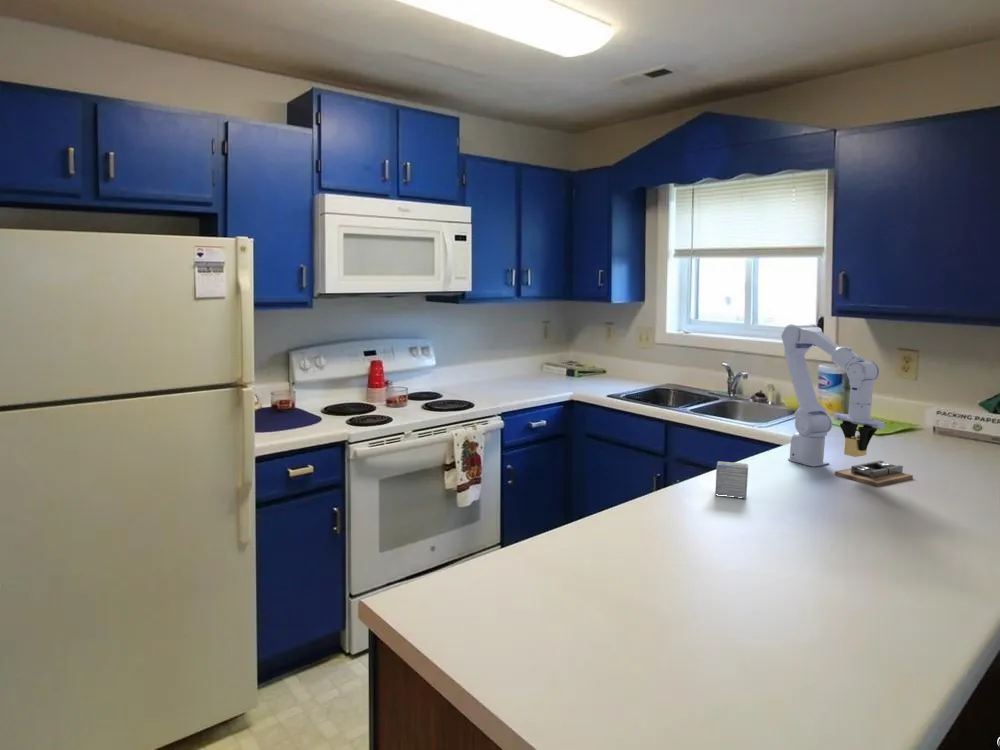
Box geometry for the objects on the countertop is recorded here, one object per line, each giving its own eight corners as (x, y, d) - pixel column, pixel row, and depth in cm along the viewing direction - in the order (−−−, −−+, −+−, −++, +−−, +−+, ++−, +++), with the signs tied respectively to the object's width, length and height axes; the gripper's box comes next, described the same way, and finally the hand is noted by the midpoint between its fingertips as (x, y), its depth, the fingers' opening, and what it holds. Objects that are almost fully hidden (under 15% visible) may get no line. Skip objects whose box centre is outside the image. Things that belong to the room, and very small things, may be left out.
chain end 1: (851, 472, 201) (851, 466, 201) (865, 469, 204) (865, 463, 204) (873, 478, 195) (874, 472, 195) (887, 475, 198) (888, 469, 198)
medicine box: (746, 495, 183) (748, 463, 182) (746, 500, 179) (748, 467, 177) (715, 491, 185) (717, 460, 184) (714, 496, 181) (716, 464, 180)
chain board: (834, 474, 202) (834, 471, 202) (870, 467, 211) (870, 464, 210) (876, 486, 191) (877, 483, 191) (912, 478, 199) (912, 475, 199)
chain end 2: (866, 469, 205) (866, 463, 204) (879, 466, 208) (880, 460, 207) (888, 475, 199) (889, 468, 198) (902, 472, 202) (902, 466, 201)
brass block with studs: (844, 454, 200) (845, 435, 199) (855, 452, 202) (856, 433, 201) (855, 457, 197) (856, 438, 196) (866, 455, 199) (867, 436, 198)
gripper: (828, 399, 202) (825, 444, 204) (875, 408, 189) (871, 456, 191) (844, 398, 205) (840, 442, 207) (891, 406, 192) (886, 453, 194)
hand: (856, 448), depth 199 cm, fingers closed on brass block with studs, 3 cm apart
